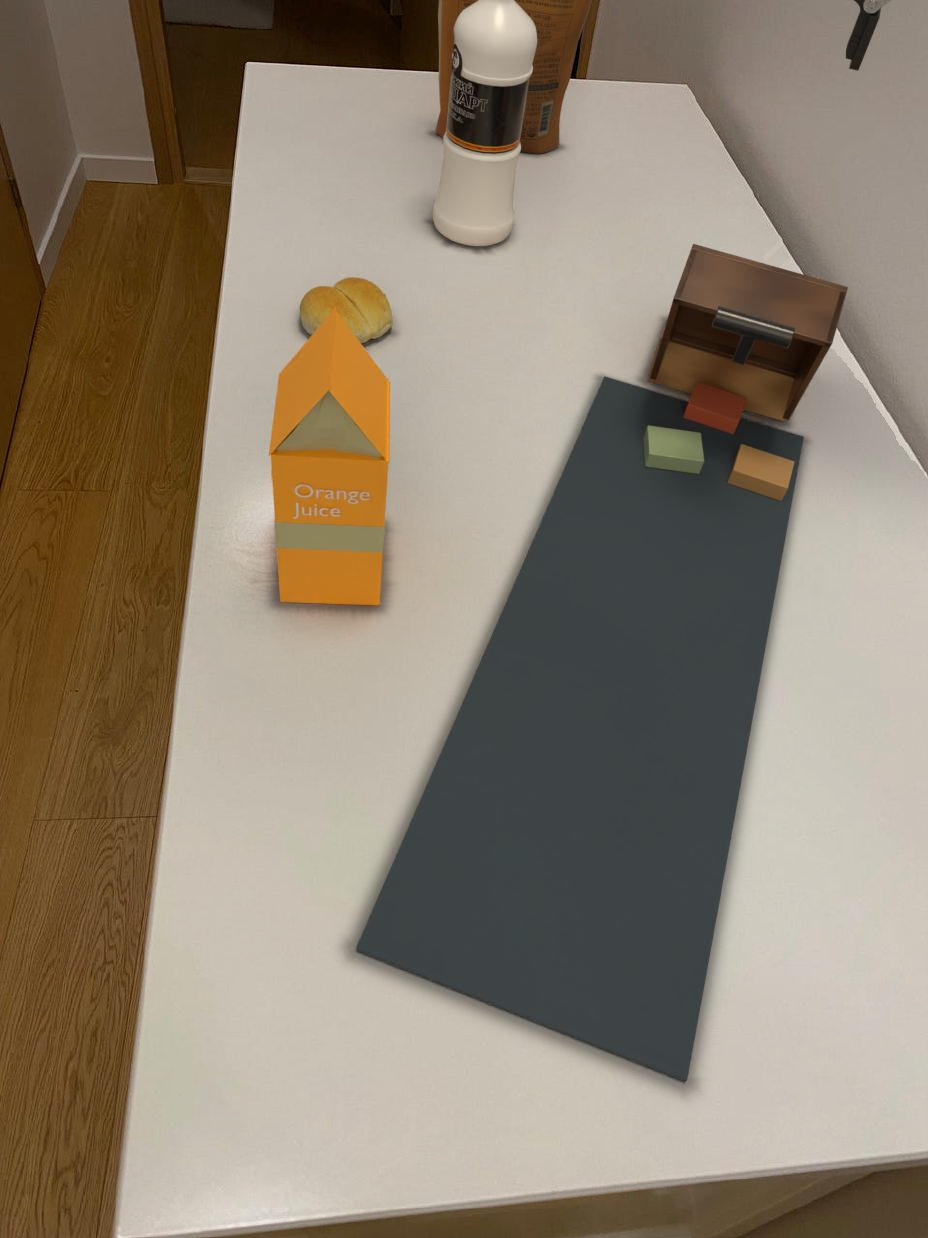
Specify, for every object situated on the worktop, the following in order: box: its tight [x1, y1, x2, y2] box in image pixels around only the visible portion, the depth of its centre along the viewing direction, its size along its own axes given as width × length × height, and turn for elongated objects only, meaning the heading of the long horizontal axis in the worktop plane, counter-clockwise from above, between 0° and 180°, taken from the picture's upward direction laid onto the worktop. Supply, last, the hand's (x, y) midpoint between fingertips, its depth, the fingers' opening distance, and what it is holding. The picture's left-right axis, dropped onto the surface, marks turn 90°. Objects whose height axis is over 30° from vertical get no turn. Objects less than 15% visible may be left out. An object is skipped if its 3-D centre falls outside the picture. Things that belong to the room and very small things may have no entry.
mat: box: [355, 376, 805, 1082], centre depth 73 cm, size 20×61×1 cm, turn 161°
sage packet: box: [643, 425, 704, 474], centre depth 86 cm, size 5×4×2 cm
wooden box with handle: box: [650, 243, 849, 421], centre depth 80 cm, size 13×15×10 cm
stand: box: [646, 320, 794, 422], centre depth 95 cm, size 14×12×5 cm
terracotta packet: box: [683, 382, 747, 434], centre depth 91 cm, size 5×4×2 cm
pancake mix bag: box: [434, 0, 593, 155], centre depth 113 cm, size 7×19×28 cm, turn 90°
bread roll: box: [299, 276, 394, 345], centre depth 93 cm, size 8×9×4 cm
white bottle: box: [432, 0, 537, 247], centre depth 98 cm, size 9×9×30 cm
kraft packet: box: [727, 444, 794, 501], centre depth 85 cm, size 5×4×2 cm
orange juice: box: [268, 307, 391, 606], centre depth 67 cm, size 8×9×20 cm
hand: (910, 79), depth 71 cm, fingers open, 8 cm apart
